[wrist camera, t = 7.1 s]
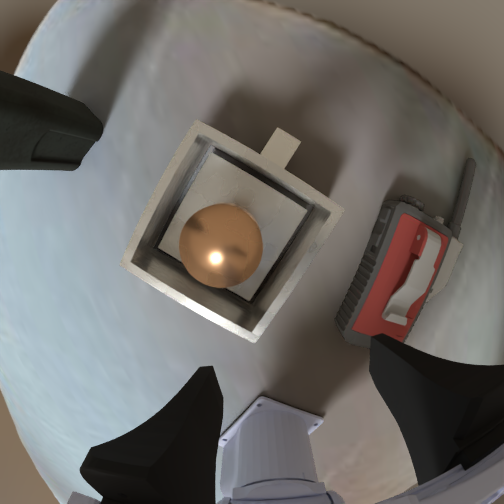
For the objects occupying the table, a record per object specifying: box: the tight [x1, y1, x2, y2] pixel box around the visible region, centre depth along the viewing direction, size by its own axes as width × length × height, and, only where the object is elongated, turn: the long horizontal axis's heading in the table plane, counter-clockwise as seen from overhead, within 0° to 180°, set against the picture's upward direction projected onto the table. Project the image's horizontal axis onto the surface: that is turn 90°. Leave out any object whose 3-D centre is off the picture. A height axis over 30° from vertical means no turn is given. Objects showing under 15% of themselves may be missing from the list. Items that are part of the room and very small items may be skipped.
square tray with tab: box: [120, 119, 345, 343], centre depth 18 cm, size 12×10×4 cm
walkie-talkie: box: [335, 158, 476, 349], centre depth 18 cm, size 9×4×20 cm
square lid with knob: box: [158, 152, 308, 301], centre depth 16 cm, size 8×8×7 cm
